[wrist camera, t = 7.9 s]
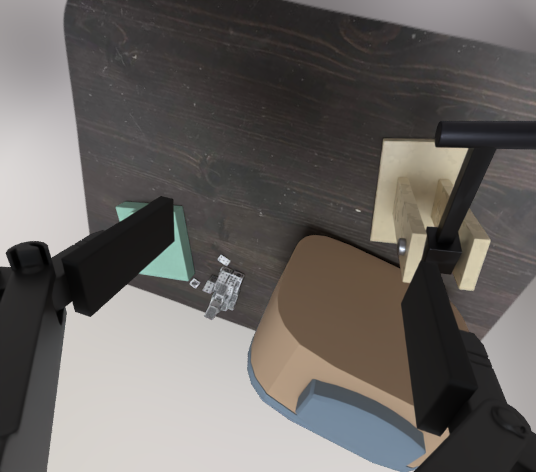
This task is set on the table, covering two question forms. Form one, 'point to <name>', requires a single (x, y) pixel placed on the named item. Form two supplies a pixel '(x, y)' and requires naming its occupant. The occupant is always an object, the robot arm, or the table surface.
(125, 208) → the button box
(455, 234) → the lever
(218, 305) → the house of cards
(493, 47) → the table surface
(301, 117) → the table surface
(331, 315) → the alarm clock
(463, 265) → the hinged lever switch
